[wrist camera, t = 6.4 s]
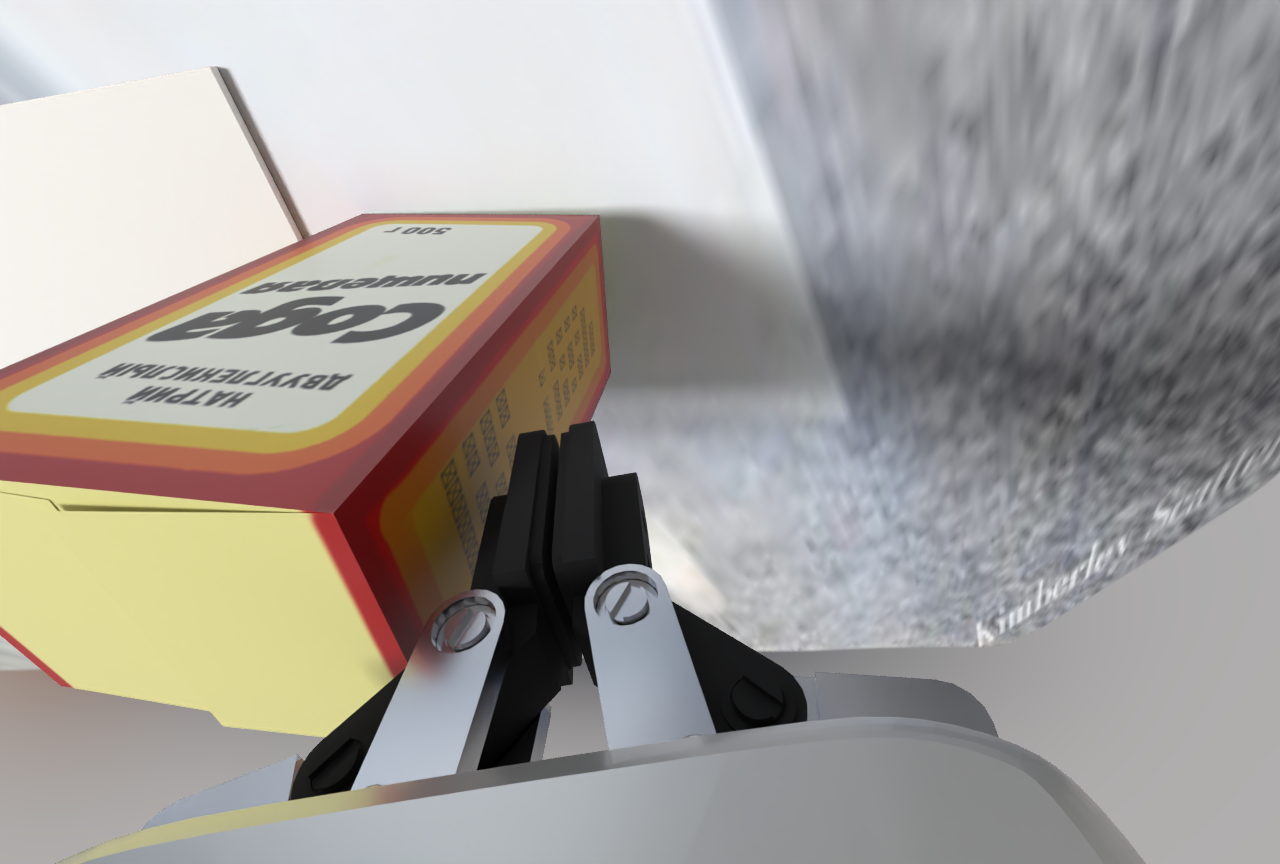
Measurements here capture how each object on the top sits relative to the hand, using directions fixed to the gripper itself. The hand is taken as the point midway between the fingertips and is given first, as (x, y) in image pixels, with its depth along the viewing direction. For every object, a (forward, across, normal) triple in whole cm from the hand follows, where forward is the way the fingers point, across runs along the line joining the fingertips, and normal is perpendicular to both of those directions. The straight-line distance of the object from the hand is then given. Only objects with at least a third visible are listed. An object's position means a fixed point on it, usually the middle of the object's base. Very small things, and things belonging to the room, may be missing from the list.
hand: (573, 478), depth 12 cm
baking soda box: (+12, +4, 0) cm, 13 cm away
